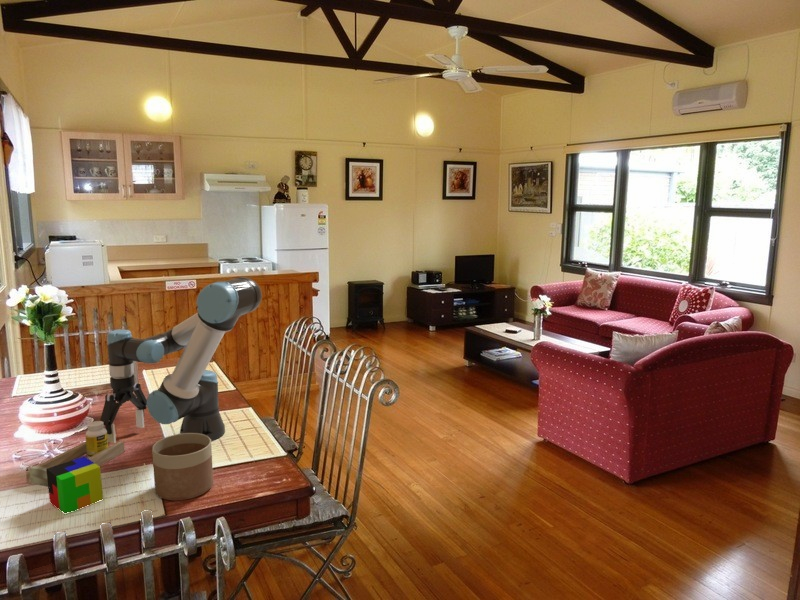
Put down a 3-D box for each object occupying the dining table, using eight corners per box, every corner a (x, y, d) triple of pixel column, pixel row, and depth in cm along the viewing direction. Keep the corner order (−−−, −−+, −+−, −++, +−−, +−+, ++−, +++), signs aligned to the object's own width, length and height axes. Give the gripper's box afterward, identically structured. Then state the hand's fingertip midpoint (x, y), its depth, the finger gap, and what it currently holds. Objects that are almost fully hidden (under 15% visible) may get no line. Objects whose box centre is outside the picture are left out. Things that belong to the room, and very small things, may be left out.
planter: (165, 476, 179) (162, 433, 176) (218, 474, 180) (216, 432, 178) (147, 503, 163) (143, 456, 161) (205, 501, 165) (203, 455, 162)
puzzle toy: (87, 488, 171) (84, 456, 169) (103, 500, 165) (100, 466, 163) (49, 502, 164) (46, 468, 162) (65, 515, 157) (61, 480, 155)
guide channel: (124, 451, 195) (123, 437, 194) (59, 488, 171) (58, 472, 170) (94, 446, 199) (93, 432, 198) (27, 482, 174) (25, 467, 173)
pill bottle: (100, 460, 189) (97, 428, 187) (83, 458, 190) (79, 426, 188) (113, 452, 195) (110, 420, 193) (96, 450, 196) (93, 419, 194)
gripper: (139, 364, 213) (142, 419, 217) (83, 385, 190) (89, 447, 194) (156, 366, 211) (160, 422, 215) (102, 388, 188) (108, 450, 192)
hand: (126, 434), depth 204 cm, fingers open, 13 cm apart
